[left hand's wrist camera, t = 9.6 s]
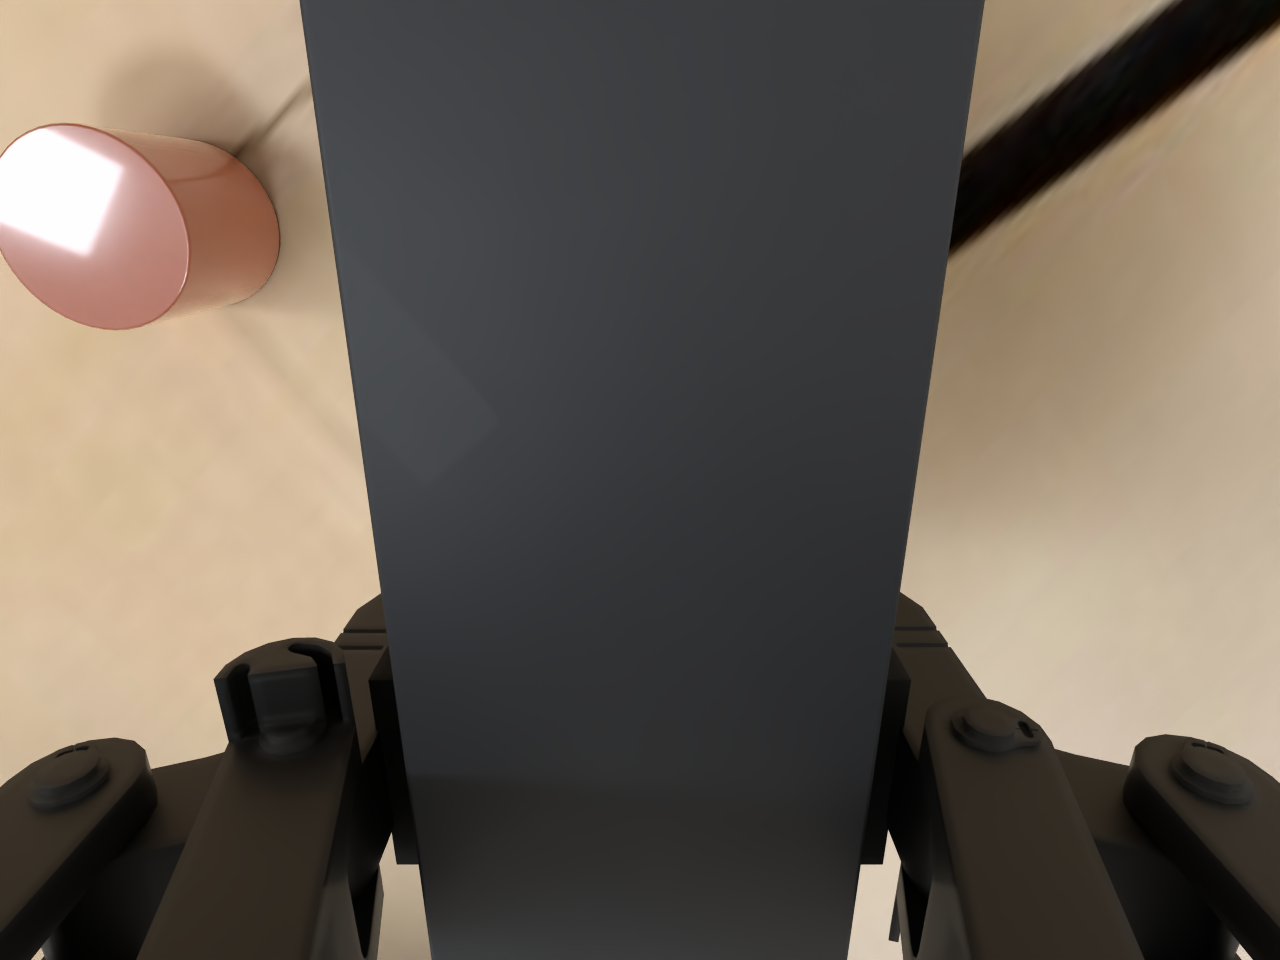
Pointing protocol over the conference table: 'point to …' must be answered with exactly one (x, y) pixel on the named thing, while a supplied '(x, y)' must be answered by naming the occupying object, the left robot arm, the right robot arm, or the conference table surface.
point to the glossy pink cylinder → (132, 224)
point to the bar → (640, 440)
